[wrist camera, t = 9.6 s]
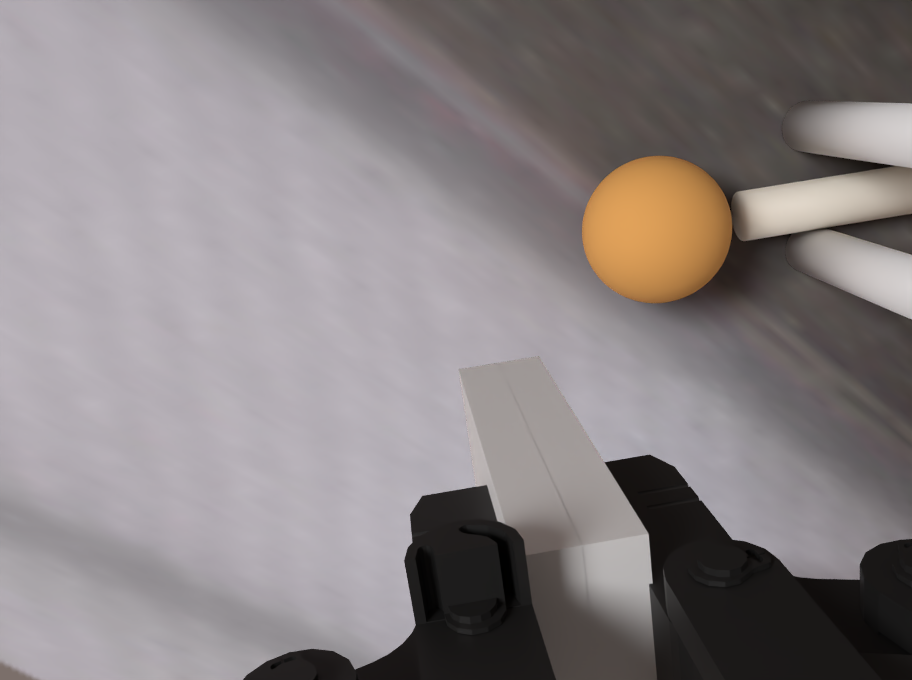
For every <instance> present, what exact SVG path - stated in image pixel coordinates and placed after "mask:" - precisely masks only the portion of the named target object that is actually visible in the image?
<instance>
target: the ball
mask: <svg viewBox="0 0 912 680" xmlns="http://www.w3.org/2000/svg"><path fill="white" fill-rule="evenodd" d="M731 237H732V216H731V211H730V208H729V205H728V202H727V199H726V197H725V195H724V193H723V191H722V190H721V188H720V187H719V185H718V184H717V183H716V181H715V180H714V179H713V178H712V177H711V176H710V175H709V174H707V173H706V172H705V171H704V170H703V169H701V168H700V167H698V166H696V165H694V164H693V163H690V162H688V161H686V160H683V159H679V158H675V157H669V156H650V157H644V158H639V159H636V160H633V161H630V162H628V163H626V164H624V165H622V166H620V167H618V168H617V169H616V170H614V171H613V172H611V173H610V174H609V175H608V176H607V177H606V178H605V179H604V180H603V181H602V182H601V183H600V184H599V185H598V187H597V188H596V190H595V191H594V192H593V194H592V196H591V198H590V200H589V202H588V204H587V207H586V210H585V213H584V218H583V225H582V239H583V245H584V249H585V253H586V256H587V259H588V261H589V263H590V265H591V267H592V269H593V270H594V272H595V273H596V274H597V276H598V277H599V278H600V279H601V280H602V281H603V282H604V283H605V284H606V285H607V286H608V287H609V288H611V289H612V290H613V291H615V292H617V293H618V294H620V295H622V296H624V297H626V298H629V299H632V300H635V301H639V302H646V303H666V302H670V301H675V300H679V299H681V298H684V297H686V296H688V295H691V294H692V293H694V292H696V291H697V290H699V289H700V288H702V287H703V286H704V285H706V284H707V283H708V282H709V281H710V280H711V279H712V278H713V277H714V275H715V274H716V273H717V272H718V270H719V269H720V267H721V266H722V264H723V262H724V260H725V258H726V256H727V253H728V250H729V247H730V243H731Z"/></svg>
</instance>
